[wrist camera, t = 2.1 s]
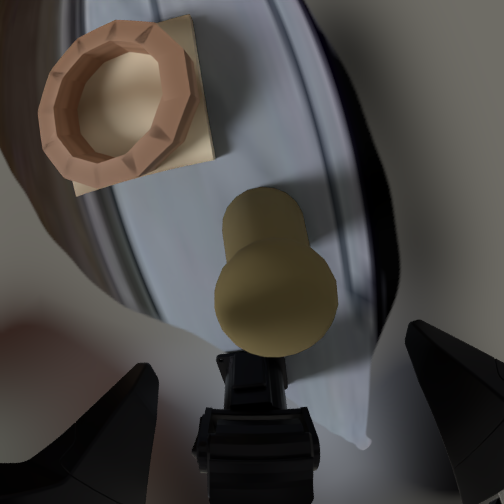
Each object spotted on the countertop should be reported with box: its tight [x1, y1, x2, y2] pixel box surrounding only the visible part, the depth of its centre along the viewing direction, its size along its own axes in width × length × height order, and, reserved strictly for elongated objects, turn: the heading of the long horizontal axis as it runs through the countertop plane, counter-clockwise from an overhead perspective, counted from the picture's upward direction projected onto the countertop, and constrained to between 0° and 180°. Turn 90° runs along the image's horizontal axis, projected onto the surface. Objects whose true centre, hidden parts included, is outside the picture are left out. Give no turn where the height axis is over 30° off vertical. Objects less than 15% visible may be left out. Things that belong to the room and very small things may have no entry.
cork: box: [215, 187, 338, 357], centre depth 15 cm, size 6×6×11 cm
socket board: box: [38, 14, 216, 197], centre depth 14 cm, size 11×11×4 cm
